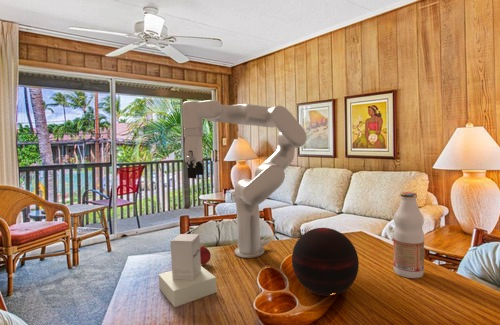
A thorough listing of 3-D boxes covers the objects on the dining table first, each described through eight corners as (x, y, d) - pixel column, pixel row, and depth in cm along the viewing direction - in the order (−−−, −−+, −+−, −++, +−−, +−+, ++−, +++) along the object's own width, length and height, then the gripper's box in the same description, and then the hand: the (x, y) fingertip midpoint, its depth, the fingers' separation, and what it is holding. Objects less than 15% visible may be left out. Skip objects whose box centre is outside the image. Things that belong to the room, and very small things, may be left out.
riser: (198, 276, 109) (197, 263, 108) (216, 292, 97) (215, 277, 97) (159, 288, 101) (158, 274, 101) (174, 307, 90) (173, 291, 89)
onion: (213, 262, 121) (212, 243, 120) (206, 268, 115) (205, 248, 115) (200, 261, 123) (199, 241, 122) (193, 267, 117) (192, 247, 116)
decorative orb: (292, 308, 87) (291, 239, 85) (292, 276, 106) (291, 220, 105) (366, 311, 84) (365, 240, 82) (351, 277, 104) (351, 220, 102)
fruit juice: (402, 279, 101) (402, 196, 98) (388, 267, 110) (388, 191, 108) (430, 278, 101) (430, 195, 99) (413, 266, 110) (414, 190, 108)
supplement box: (194, 280, 95) (191, 241, 94) (171, 279, 96) (169, 240, 95) (201, 270, 102) (199, 233, 101) (181, 269, 104) (179, 233, 103)
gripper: (191, 133, 128) (193, 174, 130) (176, 133, 111) (179, 179, 113) (208, 133, 127) (210, 173, 129) (196, 132, 110) (199, 179, 112)
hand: (195, 176), depth 121 cm, fingers open, 9 cm apart
